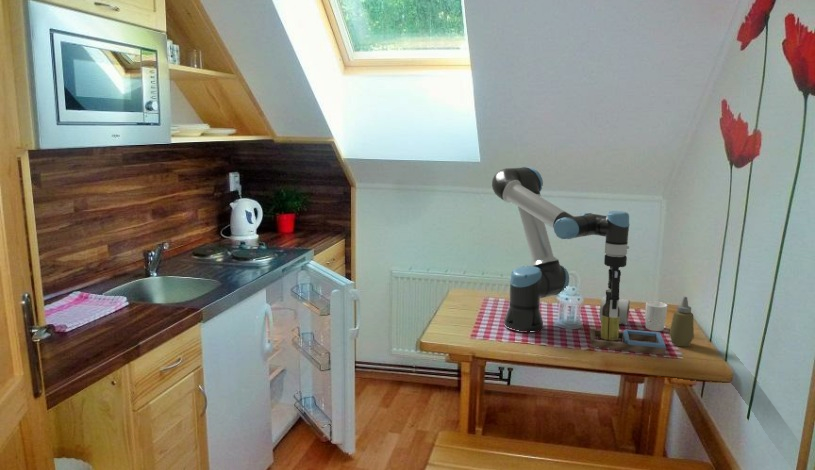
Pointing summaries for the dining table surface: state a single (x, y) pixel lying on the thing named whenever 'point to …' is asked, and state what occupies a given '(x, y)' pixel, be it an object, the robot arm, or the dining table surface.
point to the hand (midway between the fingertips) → (612, 311)
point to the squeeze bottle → (682, 325)
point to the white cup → (655, 315)
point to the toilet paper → (623, 308)
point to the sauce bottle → (609, 322)
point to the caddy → (630, 345)
